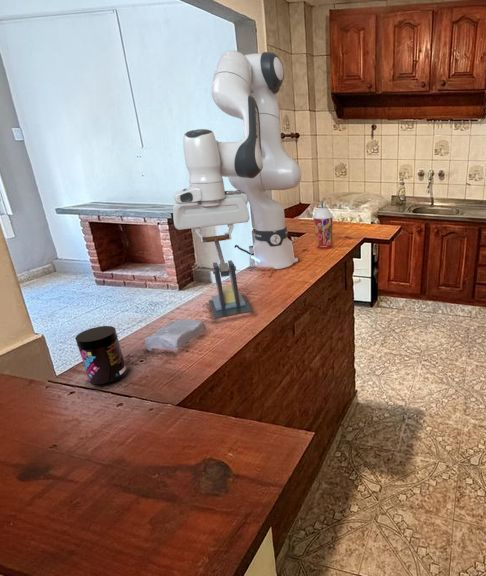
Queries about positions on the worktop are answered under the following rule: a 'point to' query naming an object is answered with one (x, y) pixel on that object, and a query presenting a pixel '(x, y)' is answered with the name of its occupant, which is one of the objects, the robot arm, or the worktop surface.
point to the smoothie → (323, 227)
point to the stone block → (174, 334)
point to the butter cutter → (224, 311)
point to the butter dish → (229, 305)
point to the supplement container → (101, 355)
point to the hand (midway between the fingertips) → (216, 240)
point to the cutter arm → (220, 254)
